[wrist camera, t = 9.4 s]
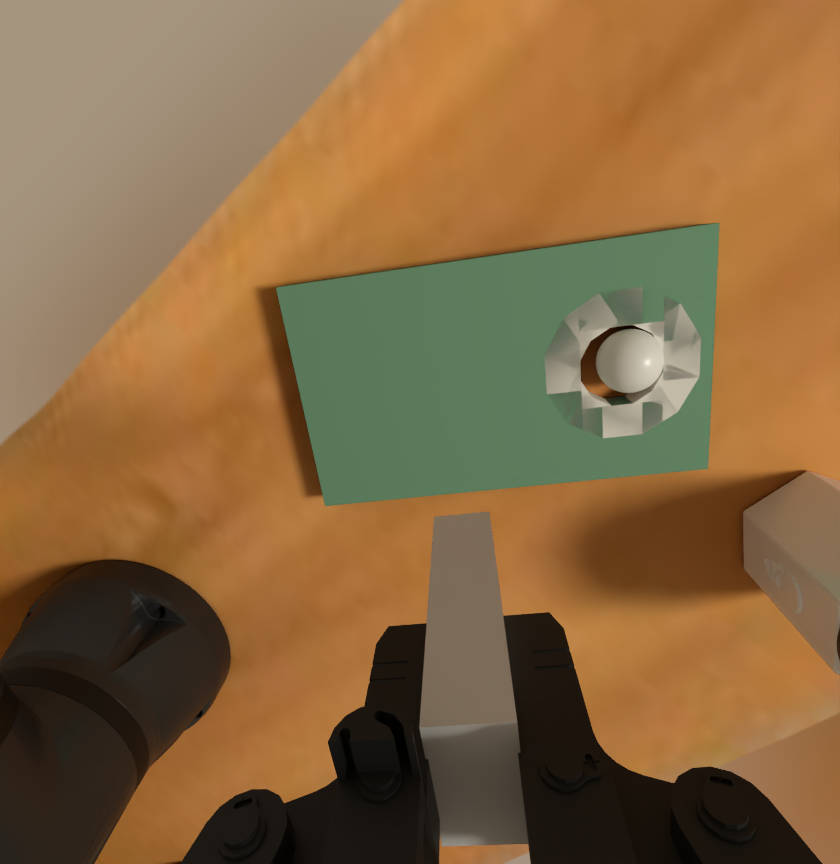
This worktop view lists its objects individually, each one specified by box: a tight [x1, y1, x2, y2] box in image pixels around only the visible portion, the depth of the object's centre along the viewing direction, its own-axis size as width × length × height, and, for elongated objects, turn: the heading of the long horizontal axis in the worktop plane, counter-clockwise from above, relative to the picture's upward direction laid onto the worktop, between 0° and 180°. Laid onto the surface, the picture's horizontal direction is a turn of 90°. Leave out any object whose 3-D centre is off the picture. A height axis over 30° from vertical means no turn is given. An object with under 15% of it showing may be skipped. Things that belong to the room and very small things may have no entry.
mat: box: [276, 223, 719, 506], centre depth 31 cm, size 24×14×2 cm, turn 98°
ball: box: [596, 329, 664, 393], centre depth 30 cm, size 4×4×4 cm
